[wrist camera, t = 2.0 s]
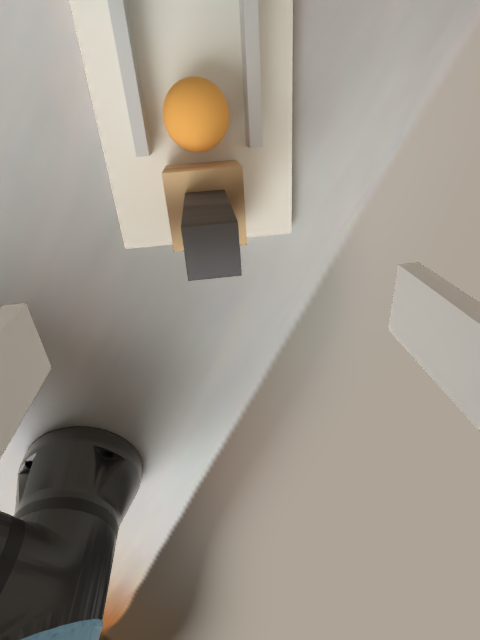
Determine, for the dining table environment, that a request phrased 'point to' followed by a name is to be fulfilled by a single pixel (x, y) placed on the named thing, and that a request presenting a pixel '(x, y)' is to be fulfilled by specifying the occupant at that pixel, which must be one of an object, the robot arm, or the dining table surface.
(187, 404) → the dining table surface
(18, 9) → the dining table surface
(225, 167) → the block
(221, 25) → the board
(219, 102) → the ball
